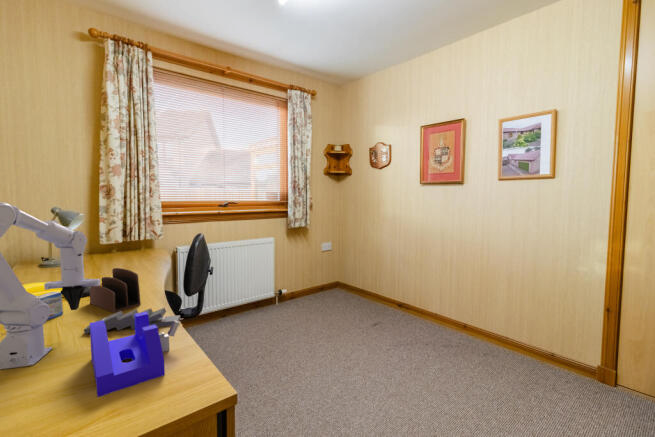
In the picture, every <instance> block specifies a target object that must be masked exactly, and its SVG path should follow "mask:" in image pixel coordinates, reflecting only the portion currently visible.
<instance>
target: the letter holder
mask: <svg viewBox="0 0 655 437" xmlns="http://www.w3.org/2000/svg"><path fill="white" fill-rule="evenodd" d="M111 272H112V277H111V276H103V277H101V278H100V279H101V285H99V286H90V296H89V304H90V305H93V306H96V307H98V308H101V309H104V310H106V311H108V312H112V313H113V314H115V313H117V312H119V311H122V312H123V311H126V310H130V309H132V308H137V307H140V306H141V302H142V301H141V294H140V291H141V290H140V280H139V275H138V274H137V273H136V272H135V271H132V270H129V269H126V268H120V267H119V268H118V267H115V268H114V267H113V268H112V270H111Z"/></svg>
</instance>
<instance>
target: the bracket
mask: <svg viewBox="0 0 655 437" xmlns="http://www.w3.org/2000/svg"><path fill="white" fill-rule="evenodd" d="M134 318H135V329H134V334H132V335H128V336H124V337H120V338H117V339H112V340H111V339H110V340H109V339H108V332H107V331H108V330H107V331H106V326H105V323H104V320H103V321H98V320H97V321H98V322H96V321H94V322H90V323H89V325H90V333H89V334H90V335H89V338H90V354H91V362H92V366H93V374H94V379H95V384H96V395H97V398H99V397H102V396H105V395H109V394H111V393H115V392H118V391H121V390H123V389H127V388H130V387H133V386H136V385H138V384H142V383H145V382H148V381H151V380H153V379H156V378H160V377H162V376H165V374H166V373H165V372H166V371H165V369H166V368H165V357H164V353H163V352H162V347H161V342H160V337H159V333H160V332H159V327H157V326H156V325H151V326H149V318H148V313H147V311H146V312H143V311H141V313H140V312H138V313H136V314H134ZM127 359H129V360H130V359H131V360H132V361H129V362H123V361H124V360H127Z"/></svg>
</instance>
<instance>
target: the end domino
mask: <svg viewBox="0 0 655 437" xmlns="http://www.w3.org/2000/svg"><path fill="white" fill-rule="evenodd" d="M174 320H175V321H179V322H180V321H181V315H170V316H163V317H162V318H159V319H157V320H154V321H152V322H149V326H151V325H156V326H157V327H158V328H160V327H171V325H172V323H173V321H174Z"/></svg>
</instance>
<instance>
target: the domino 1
mask: <svg viewBox="0 0 655 437" xmlns="http://www.w3.org/2000/svg"><path fill="white" fill-rule="evenodd" d="M123 315H124V313H123V311H119V312H116V313H113V314H110V315H108V316H106V317H103V318H101V319H99V320H96V321H95V322H98V321H103V320H104V323H105V326H106V325H109V324H111V323H113V322H115V321H118V320H119V319H120V318H121V317H122V316H123ZM83 332H84V334H85V335H87V334H90V324H89V325H87V326H86V327H85V328H84V329H83Z"/></svg>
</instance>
